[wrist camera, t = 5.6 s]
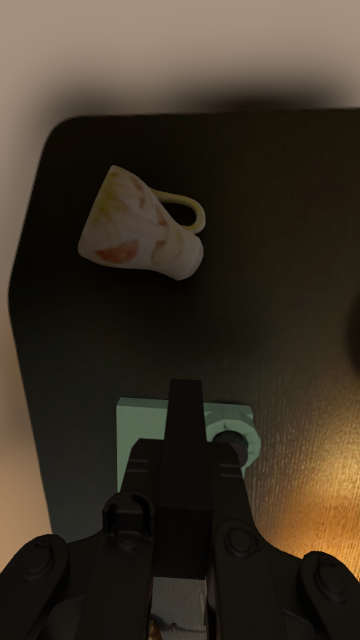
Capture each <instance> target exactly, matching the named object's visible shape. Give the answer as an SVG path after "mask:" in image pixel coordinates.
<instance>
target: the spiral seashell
mask: <svg viewBox="0 0 360 640" xmlns="http://www.w3.org/2000/svg"><path fill="white" fill-rule="evenodd" d="M171 628H172V632H174V631H176V626H175V625H173V626H172V627H171ZM148 640H162V637H161V634H160V632H159V629H158V627H157V625H156V623H155V622H154V621H153V620H151V621H150V629H149V639H148Z"/></svg>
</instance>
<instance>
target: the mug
mask: <svg viewBox="0 0 360 640" xmlns="http://www.w3.org/2000/svg"><path fill="white" fill-rule="evenodd" d="M160 202H169V203H178V204H182V205H185V206H187V207H190V208H191V209H193V210H194V212H195V214H196V221H195V223H194V224H193V225H192V226H184V225H179V224H178V223H177V222H175V221H174V220H173V218H172V217H171V216H170V215H169V213H168V212H167V211H166V210H165V208H164V207H163V206H162V204H161V203H160ZM204 226H205V213H204V210H203V208H202V207H201V205H200V204H199V203H198V202H197V201H195V200H193V199H191V198H188V197H186V196H182V195H176V194H170V193H166V192H161V191H157V190H154V189H152V188H150V187H148V186H147V185H146V184H145V183H144V182H143V181H141V180H140V179H139V178H138V177H137V176H135V175H134V174H132V173H131V172H129V171H127V170H125V169H123V168H120V167H118V166H114V165H112V166H111V168H110V170H109V172H108V174H107V176H106V178H105V180H104V182H103V184H102V186H101V189H100V191H99V193H98V195H97V198H96V200H95V202H94V205H93V207H92V210H91V212H90V214H89V217H88V219H87V222H86V224H85V227H84V230H83V232H82V235H81V238H80V241H79V244H78V252H79V254H80V255H81V256H83V257H85V258H87V259H89V260H91V261H93V262H95V263H97V264H100V265H103V266H109V267H116V268H133V269H148V270H153V271H157V272H160V273H163V274H165V275H167V276H169V277H171V278H174V279H176V280H182V279H185V278H188V277H190V276H191V275H192V274H193V273H194V272H195V271H196V270H197V268H198V267H199V265H200V263H201V261H202V258H203V246H202V244H201V241H200V239H199V238H198V237H197V236H195V234H197V233H199V232H201V231H202V229H203V228H204Z"/></svg>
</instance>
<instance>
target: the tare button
mask: <svg viewBox="0 0 360 640" xmlns="http://www.w3.org/2000/svg"><path fill="white" fill-rule="evenodd" d="M213 442H223V443H230V444H231V445H232V447H233V448H234V449H235V451H236V452H237V453H238V457H239V462H240V468H242V467H243V466H244V465H245V464H246V463H247V460H248V452H247V448H246V445H245V441H244V438H243V437H242V436H241V435H240V434H239V433H237V432H235V431H231V430H227V431H222V432H220V433H218V434H217V435H216V436H215V437H214V439H213Z"/></svg>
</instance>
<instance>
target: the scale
mask: <svg viewBox="0 0 360 640" xmlns="http://www.w3.org/2000/svg"><path fill="white" fill-rule="evenodd" d="M203 404H204V415H205V425H206V436H207V441H208V442H213V439H214V437H215V436H216V435H217V434H218V433H220V432H222V431H227V430H231V431H235V432H237V433H239V434H240V435H241V436H242V437H243V438H244V441H245V445H246V448H247V452H248V460H247V463H246V464H245V465H244V466H243V467H242V468H241V470H242V475H243V479H244V473H245V468H246V467H248V466H250V465H251V464H252V462H253V461H254V460H255V459H256V458H257V457H258V456H259V452H260V446H261V440H260V437H259V434H258V431H257V429H256V427H255V425H254V423H253V413H252V410H251V408H250V406H248V405H233V404H218V403H203ZM167 408H168V400H157V399H142V398H127V397H120V399H119V402H118V404H117V477H118V492H120V488H121V485H122V481H123V477H124V473H125V471H126V466H127V462H128V459H129V455H130V451H131V448H132V446H133V445H134V444H135V443H136V441H137V440H138V439H139V438H147V439H163V440H164V433H165V424H166V416H167Z"/></svg>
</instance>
